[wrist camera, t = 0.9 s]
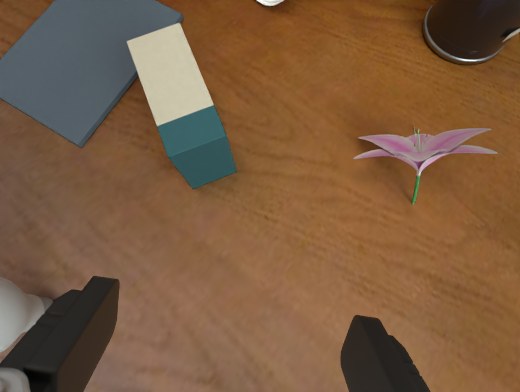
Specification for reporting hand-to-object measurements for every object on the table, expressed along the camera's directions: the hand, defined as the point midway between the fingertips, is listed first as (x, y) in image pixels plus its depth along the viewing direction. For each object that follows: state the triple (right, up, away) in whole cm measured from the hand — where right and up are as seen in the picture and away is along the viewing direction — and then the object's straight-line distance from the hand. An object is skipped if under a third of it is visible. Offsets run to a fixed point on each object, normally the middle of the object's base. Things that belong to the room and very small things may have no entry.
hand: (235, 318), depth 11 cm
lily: (+16, +7, +24) cm, 30 cm away
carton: (-6, +11, +25) cm, 28 cm away
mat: (-20, +21, +29) cm, 41 cm away
